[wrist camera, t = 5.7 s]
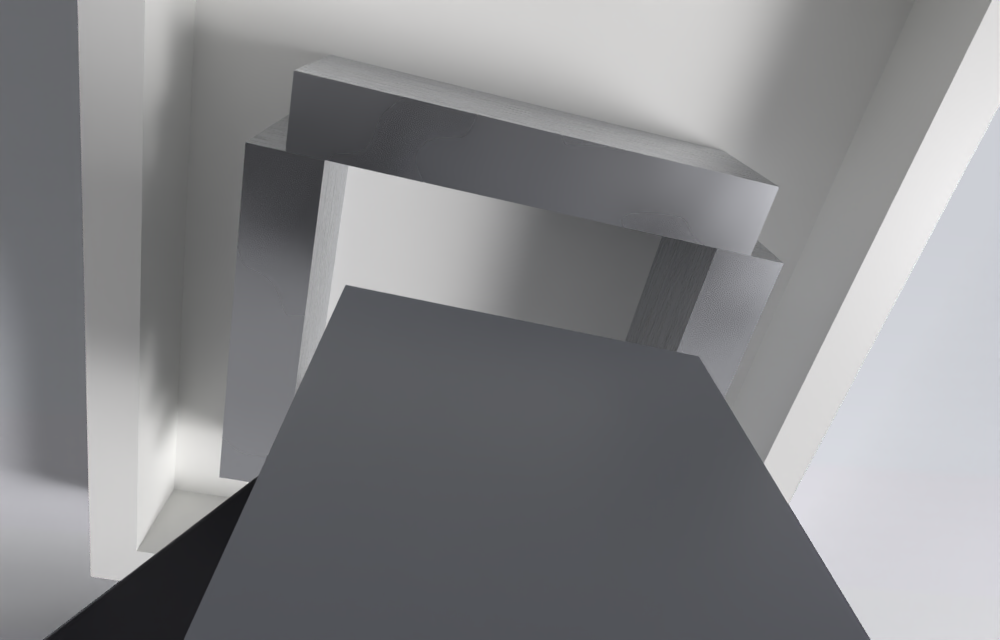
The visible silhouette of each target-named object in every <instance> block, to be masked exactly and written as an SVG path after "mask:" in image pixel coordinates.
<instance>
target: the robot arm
mask: <svg viewBox="0 0 1000 640" xmlns="http://www.w3.org/2000/svg"><path fill="white" fill-rule="evenodd" d="M257 478H258V476H257V477H256V478H254V479H253V480H252V481H250V482H249V483H248V484H246V485H245V486H244V487H242V488H241V489H240V490H239V491H237V492H236V493H235V494H233V495H232V496H231V497H229V498H228V499H227V500H225V501H224V502H223V503H222V504H220V505H219V506H218V507H216V508H215V509H214V510H212V511H211V512H210V513H208V514H207V515H206V516H205V517H203V518H202V519H201V520H199V521H198V522H197V523H195V524H194V525H193V526H191V527H190V528H189V529H187V530H186V531H185V532H184V533H182V534H181V535H180V536H178V537H177V538H176V539H174V540H173V541H172V542H170V543H169V544H168V545H167V546H165V547H164V548H163V549H161V550H160V551H159V552H157V553H156V554H155V555H153V556H152V557H151V558H150V559H148V560H147V561H146V562H144V563H143V564H142V565H140V566H139V567H138V568H136V569H135V570H134V571H133V572H131V573H130V574H129V575H127V576H126V577H125V578H123V579H122V580H121V581H119V582H118V583H117V584H115V585H114V586H113V587H112V588H110V589H109V590H108V591H106V592H105V593H104V594H102V595H101V596H100V597H98V598H97V599H96V600H95V601H93V602H92V603H91V604H89V605H88V606H87V607H85V608H84V609H83V610H81V611H80V612H79V613H78V614H76V615H75V616H74V617H72V618H71V619H70V620H68V621H67V622H66V623H64V624H63V625H62V626H61V627H59V628H58V629H57V630H55V631H54V632H53V633H51V634H50V635H49V636H47V637H46V638H45V639H43V640H184V638H185V636H186V634H187V631H188V629H189V627H190V625H191V623H192V620H193V618H194V616H195V614H196V612H197V609H198V607H199V605H200V603H201V601H202V599H203V596H204V594H205V592H206V590H207V588H208V585H209V583H210V581H211V579H212V577H213V574H214V572H215V570H216V568H217V566H218V563H219V561H220V559H221V557H222V555H223V552H224V550H225V548H226V546H227V544H228V541H229V539H230V537H231V535H232V533H233V531H234V528H235V526H236V524H237V522H238V520H239V517H240V515H241V513H242V511H243V509H244V506H245V504H246V502H247V500H248V498H249V495H250V493H251V491H252V489H253V487H254V484H255V482H256V480H257Z"/></svg>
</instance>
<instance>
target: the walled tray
mask: <svg viewBox="0 0 1000 640" xmlns="http://www.w3.org/2000/svg"><path fill="white" fill-rule="evenodd" d="M77 3H78V47H79V92H80V136H81V180H82V224H83V268H84V312H85V356H86V400H87V444H88V488H89V532H90V576H91V577H96V578H103V579H110V580H117V581H121V580H122V579H123V578H125V577H126V576H127V575H129V574H130V573H131V572H133V571H134V570H135V569H136V568H138V567H139V566H140V565H142V564H143V563H144V562H146V561H147V560H148V559H150V558H151V557H152V556H153V555H155V554H156V553H157V552H159V551H160V550H161V549H163V548H164V547H165V546H167V545H168V544H169V543H170V542H172V541H173V540H174V539H176V538H177V537H178V536H180V535H181V534H182V533H184V532H185V531H186V530H187V529H189V528H190V527H191V526H193V525H194V524H195V523H197V522H198V521H199V520H201V519H202V518H203V517H205V516H206V515H207V514H208V513H210V512H211V511H212V510H214V509H215V508H216V507H218V506H219V505H220V504H222V503H223V502H224V501H225V500H227V499H228V498H229V497H231V496H232V495H233V494H235V493H236V492H237V491H239V490H240V489H241V488H242V487H244V486H245V485H246V484H248V483H249V482H245V481H239V480H233V479H227V478H221V477H219V473H220V461H221V448H222V435H223V422H224V409H225V397H226V384H227V371H228V358H229V346H230V333H231V320H232V307H233V295H234V282H235V269H236V256H237V243H238V231H239V218H240V205H241V192H242V180H243V167H244V154H245V142H247V141H248V140H250V139H251V138H253V137H254V136H256V135H257V134H259V133H261V132H262V131H264V130H265V129H267V128H268V127H270V126H271V125H273V124H274V123H276V122H277V121H279V120H281V119H282V118H284V117H285V116H287V115H288V114H289V112H290V102H291V92H292V83H293V73H294V70H296V69H298V68H301V67H303V66H305V65H308V64H310V63H312V62H314V61H317V60H319V59H321V58H324V57H326V56H328V55H334V56H338V57H342V58H346V59H351V60H355V61H359V62H363V63H367V64H371V65H375V66H379V67H383V68H387V69H392V70H396V71H400V72H404V73H408V74H412V75H416V76H420V77H424V78H428V79H432V80H437V81H441V82H445V83H449V84H453V85H457V86H461V87H465V88H469V89H473V90H477V91H482V92H486V93H490V94H494V95H498V96H502V97H506V98H510V99H514V100H518V101H523V102H527V103H531V104H535V105H539V106H543V107H547V108H551V109H555V110H559V111H563V112H568V113H572V114H576V115H580V116H584V117H588V118H592V119H596V120H600V121H604V122H608V123H613V124H617V125H621V126H625V127H629V128H633V129H637V130H641V131H645V132H649V133H654V134H658V135H662V136H666V137H670V138H674V139H678V140H682V141H686V142H690V143H694V144H699V145H703V146H707V147H711V148H715V149H719V150H723V151H725V152H726V153H728V154H730V155H731V156H733V157H734V158H736V159H737V160H739V161H740V162H742V163H743V164H745V165H746V166H748V167H750V168H751V169H753V170H754V171H756V172H757V173H759V174H760V175H762V176H763V177H765V178H766V179H768V180H770V181H771V182H773V183H774V184H776V185H777V186H779V189H778V191H777V194H776V196H775V199H774V201H773V203H772V206H771V208H770V211H769V213H768V215H767V218H766V220H765V223H764V225H763V227H762V230H761V232H760V235H759V237H758V239H757V240H758V241H759V242H760V243H761V244H763V245H764V246H765V247H766V248H767V249H768V250H769V251H770V252H772V253H773V254H774V255H775V256H776V257H777V258H778V259H779V260H780V261H782V262H783V263H784V264H783V266H782V268H781V271H780V273H779V275H778V277H777V280H776V282H775V284H774V286H773V289H772V291H771V293H770V295H769V298H768V300H767V302H766V305H765V307H764V309H763V311H762V314H761V316H760V318H759V320H758V323H757V325H756V327H755V329H754V332H753V334H752V336H751V339H750V341H749V343H748V345H747V348H746V350H745V352H744V354H743V357H742V359H741V361H740V364H739V366H738V368H737V370H736V373H735V375H734V377H733V379H732V382H731V384H730V386H729V388H728V391H727V393H726V395H725V398H724V399H725V400H726V402H727V404H728V405H729V407H730V409H731V410H732V412H733V414H734V415H735V417H736V419H737V420H738V422H739V424H740V425H741V427H742V429H743V430H744V432H745V433H746V435H747V437H748V438H749V440H750V442H751V443H752V445H753V447H754V448H755V450H756V452H757V453H758V455H759V457H760V458H761V460H762V462H763V463H764V465H765V466H766V468H767V470H768V471H769V473H770V475H771V476H772V478H773V480H774V481H775V483H776V485H777V486H778V488H779V490H780V491H781V493H782V495H783V496H784V498H785V500H786V501H787V503H788V504H789V503H790V501H791V499H792V497H793V495H794V493H795V491H796V489H797V488H798V486H799V484H800V482H801V480H802V478H803V476H804V474H805V472H806V471H807V469H808V467H809V465H810V463H811V461H812V459H813V457H814V455H815V453H816V452H817V450H818V448H819V446H820V444H821V442H822V440H823V438H824V436H825V435H826V433H827V431H828V429H829V427H830V425H831V423H832V421H833V419H834V418H835V416H836V414H837V412H838V410H839V408H840V406H841V404H842V402H843V401H844V399H845V397H846V395H847V393H848V391H849V389H850V387H851V385H852V383H853V382H854V380H855V378H856V376H857V374H858V372H859V370H860V368H861V366H862V365H863V363H864V361H865V359H866V357H867V355H868V353H869V351H870V349H871V348H872V346H873V344H874V342H875V340H876V338H877V336H878V334H879V332H880V331H881V329H882V327H883V325H884V323H885V321H886V319H887V317H888V315H889V313H890V312H891V310H892V308H893V306H894V304H895V302H896V300H897V298H898V296H899V295H900V293H901V291H902V289H903V287H904V285H905V283H906V281H907V279H908V278H909V276H910V274H911V272H912V270H913V268H914V266H915V264H916V262H917V261H918V259H919V257H920V255H921V253H922V251H923V249H924V247H925V245H926V243H927V242H928V240H929V238H930V236H931V234H932V232H933V230H934V228H935V226H936V225H937V223H938V221H939V219H940V217H941V215H942V213H943V211H944V209H945V208H946V206H947V204H948V202H949V200H950V198H951V196H952V194H953V192H954V191H955V189H956V187H957V185H958V183H959V181H960V179H961V177H962V175H963V173H964V172H965V170H966V168H967V166H968V164H969V162H970V160H971V158H972V156H973V155H974V153H975V151H976V149H977V147H978V145H979V143H980V141H981V139H982V138H983V136H984V134H985V132H986V130H987V128H988V126H989V124H990V122H991V121H992V119H993V117H994V115H995V113H996V111H997V109H998V107H999V105H1000V0H77ZM661 238H662V236H660V235H655V234H651V233H646V232H642V231H638V230H633V229H629V228H624V227H620V226H615V225H611V224H606V223H602V222H598V221H593V220H589V219H584V218H580V217H575V216H571V215H566V214H562V213H557V212H553V211H549V210H544V209H540V208H535V207H531V206H526V205H522V204H517V203H513V202H509V201H504V200H500V199H495V198H491V197H486V196H482V195H477V194H473V193H468V192H464V191H460V190H455V189H451V188H446V187H442V186H437V185H433V184H428V183H424V182H420V181H415V180H411V179H406V178H402V177H397V176H393V175H388V174H384V173H380V172H375V171H371V170H366V169H362V168H357V167H353V166H348V173H347V180H346V187H345V194H344V201H343V208H342V215H341V222H340V229H339V236H338V243H337V250H336V257H335V264H334V271H333V278H332V285H331V292H330V299H329V305H328V312H327V319H326V326H327V324H328V322H329V320H330V318H331V316H332V313H333V311H334V309H335V307H336V305H337V302H338V300H339V298H340V296H341V294H342V291H343V289H344V287H345V285H350V286H355V287H359V288H364V289H369V290H374V291H379V292H384V293H389V294H394V295H399V296H404V297H409V298H414V299H419V300H424V301H429V302H433V303H438V304H443V305H448V306H453V307H458V308H463V309H468V310H473V311H478V312H483V313H488V314H493V315H498V316H502V317H507V318H512V319H517V320H522V321H527V322H532V323H537V324H542V325H547V326H552V327H557V328H562V329H567V330H571V331H576V332H581V333H586V334H591V335H596V336H601V337H606V338H611V339H616V340H621V341H625V340H626V337H627V334H628V331H629V328H630V326H631V323H632V320H633V317H634V314H635V311H636V309H637V306H638V303H639V300H640V297H641V295H642V292H643V289H644V286H645V283H646V280H647V278H648V275H649V272H650V269H651V266H652V263H653V261H654V258H655V255H656V252H657V249H658V247H659V244H660V241H661ZM326 326H325V329H326Z"/></svg>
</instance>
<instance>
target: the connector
mask: <svg viewBox="0 0 1000 640" xmlns="http://www.w3.org/2000/svg"><path fill="white" fill-rule="evenodd" d="M184 640H870V638H869V637H868V635H867V633H866V632H865V630H864V628H863V627H862V625H861V623H860V622H859V620H858V618H857V617H856V615H855V613H854V612H853V610H852V609H851V607H850V605H849V604H848V602H847V600H846V599H845V597H844V595H843V594H842V592H841V590H840V589H839V587H838V585H837V584H836V582H835V580H834V579H833V577H832V575H831V574H830V572H829V571H828V569H827V567H826V566H825V564H824V562H823V561H822V559H821V557H820V556H819V554H818V552H817V551H816V549H815V547H814V546H813V544H812V542H811V541H810V539H809V538H808V536H807V534H806V533H805V531H804V529H803V528H802V526H801V524H800V523H799V521H798V519H797V518H796V516H795V514H794V513H793V511H792V509H791V508H790V506H789V504H788V503H787V501H786V500H785V498H784V496H783V495H782V493H781V491H780V490H779V488H778V486H777V485H776V483H775V481H774V480H773V478H772V476H771V475H770V473H769V471H768V470H767V468H766V466H765V465H764V463H763V462H762V460H761V458H760V457H759V455H758V453H757V452H756V450H755V448H754V447H753V445H752V443H751V442H750V440H749V438H748V437H747V435H746V433H745V432H744V430H743V429H742V427H741V425H740V424H739V422H738V420H737V419H736V417H735V415H734V414H733V412H732V410H731V409H730V407H729V405H728V404H727V402H726V400H725V399H724V397H723V395H722V394H721V392H720V391H719V389H718V387H717V386H716V384H715V382H714V381H713V379H712V377H711V376H710V374H709V372H708V371H707V369H706V367H705V366H704V364H703V362H702V361H701V359H700V357H699V356H695V355H690V354H685V353H680V352H675V351H670V350H665V349H660V348H655V347H650V346H645V345H641V344H636V343H631V342H626V341H621V340H616V339H611V338H606V337H601V336H596V335H591V334H586V333H581V332H576V331H571V330H567V329H562V328H557V327H552V326H547V325H542V324H537V323H532V322H527V321H522V320H517V319H512V318H507V317H502V316H498V315H493V314H488V313H483V312H478V311H473V310H468V309H463V308H458V307H453V306H448V305H443V304H438V303H433V302H429V301H424V300H419V299H414V298H409V297H404V296H399V295H394V294H389V293H384V292H379V291H374V290H369V289H364V288H359V287H355V286H350V285H345V287H344V289H343V291H342V294H341V296H340V298H339V300H338V302H337V305H336V307H335V309H334V311H333V313H332V316H331V318H330V320H329V322H328V324H327V326H326V329H325V331H324V333H323V335H322V337H321V340H320V342H319V344H318V346H317V348H316V351H315V353H314V355H313V357H312V359H311V362H310V364H309V366H308V368H307V370H306V373H305V375H304V377H303V379H302V381H301V384H300V386H299V388H298V390H297V392H296V394H295V397H294V399H293V401H292V403H291V405H290V408H289V410H288V412H287V414H286V416H285V419H284V421H283V423H282V425H281V427H280V430H279V432H278V434H277V436H276V438H275V441H274V443H273V445H272V447H271V449H270V452H269V454H268V456H267V458H266V460H265V462H264V465H263V467H262V469H261V471H260V473H259V476H258V478H257V480H256V482H255V484H254V487H253V489H252V491H251V493H250V495H249V498H248V500H247V502H246V504H245V506H244V509H243V511H242V513H241V515H240V517H239V520H238V522H237V524H236V526H235V528H234V531H233V533H232V535H231V537H230V539H229V541H228V544H227V546H226V548H225V550H224V552H223V555H222V557H221V559H220V561H219V563H218V566H217V568H216V570H215V572H214V574H213V577H212V579H211V581H210V583H209V585H208V588H207V590H206V592H205V594H204V596H203V599H202V601H201V603H200V605H199V607H198V609H197V612H196V614H195V616H194V618H193V620H192V623H191V625H190V627H189V629H188V631H187V634H186V636H185V638H184Z"/></svg>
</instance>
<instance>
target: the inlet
mask: <svg viewBox="0 0 1000 640" xmlns="http://www.w3.org/2000/svg"><path fill="white" fill-rule="evenodd" d="M348 166H353V167H357V168H362V169H366V170H371V171H375V172H380V173H384V174H388V175H393V176H397V177H402V178H406V179H411V180H415V181H420V182H424V183H428V184H433V185H437V186H442V187H446V188H451V189H455V190H460V191H464V192H468V193H473V194H477V195H482V196H486V197H491V198H495V199H500V200H504V201H509V202H513V203H517V204H522V205H526V206H531V207H535V208H540V209H544V210H549V211H553V212H557V213H562V214H566V215H571V216H575V217H580V218H584V219H589V220H593V221H598V222H602V223H606V224H611V225H615V226H620V227H624V228H629V229H633V230H638V231H642V232H646V233H651V234H655V235H660V236H662V238H661V241H660V244H659V247H658V249H657V252H656V255H655V258H654V261H653V263H652V266H651V269H650V272H649V275H648V278H647V280H646V283H645V286H644V289H643V292H642V295H641V297H640V300H639V303H638V306H637V309H636V311H635V314H634V317H633V320H632V323H631V326H630V328H629V331H628V334H627V337H626V340H625V341H626V342H631V343H636V344H641V345H645V346H650V347H655V348H660V349H665V350H670V351H675V352H680V353H685V354H690V355H695V356H699V357H700V359H701V361H702V362H703V364H704V366H705V367H706V369H707V371H708V372H709V374H710V376H711V377H712V379H713V381H714V382H715V384H716V386H717V387H718V389H719V391H720V392H721V394H722V395H723V397H724V398H725V395H726V393H727V391H728V388H729V386H730V384H731V382H732V379H733V377H734V375H735V373H736V370H737V368H738V366H739V364H740V361H741V359H742V357H743V354H744V352H745V350H746V348H747V345H748V343H749V341H750V339H751V336H752V334H753V332H754V329H755V327H756V325H757V323H758V320H759V318H760V316H761V314H762V311H763V309H764V307H765V305H766V302H767V300H768V298H769V295H770V293H771V291H772V289H773V286H774V284H775V282H776V280H777V277H778V275H779V273H780V271H781V268H782V266H783V264H784V263H783V262H782V261H780V260H779V259H778V258H777V257H776V256H775V255H774V254H773V253H772V252H770V251H769V250H768V249H767V248H766V247H765V246H764V245H763V244H761V243H760V242H759V241H758V240H757V239H758V237H759V235H760V232H761V230H762V227H763V225H764V223H765V220H766V218H767V215H768V213H769V211H770V208H771V206H772V203H773V201H774V199H775V196H776V194H777V191H778V189H779V186H777V185H776V184H774V183H773V182H771V181H770V180H768V179H766V178H765V177H763V176H762V175H760V174H759V173H757V172H756V171H754V170H753V169H751V168H750V167H748V166H746V165H745V164H743V163H742V162H740V161H739V160H737V159H736V158H734V157H733V156H731V155H730V154H728V153H726V152H725V151H723V150H719V149H715V148H711V147H707V146H703V145H699V144H694V143H690V142H686V141H682V140H678V139H674V138H670V137H666V136H662V135H658V134H654V133H649V132H645V131H641V130H637V129H633V128H629V127H625V126H621V125H617V124H613V123H608V122H604V121H600V120H596V119H592V118H588V117H584V116H580V115H576V114H572V113H568V112H563V111H559V110H555V109H551V108H547V107H543V106H539V105H535V104H531V103H527V102H523V101H518V100H514V99H510V98H506V97H502V96H498V95H494V94H490V93H486V92H482V91H477V90H473V89H469V88H465V87H461V86H457V85H453V84H449V83H445V82H441V81H437V80H432V79H428V78H424V77H420V76H416V75H412V74H408V73H404V72H400V71H396V70H392V69H387V68H383V67H379V66H375V65H371V64H367V63H363V62H359V61H355V60H351V59H346V58H342V57H338V56H334V55H328V56H326V57H324V58H321V59H319V60H317V61H314V62H312V63H310V64H308V65H305V66H303V67H301V68H298V69H296V70H294V73H293V83H292V92H291V102H290V112H289V114H288V115H287V116H285V117H284V118H282V119H281V120H279V121H277V122H276V123H274V124H273V125H271V126H270V127H268V128H267V129H265V130H264V131H262V132H261V133H259V134H257V135H256V136H254V137H253V138H251V139H250V140H248V141H247V142H245V154H244V167H243V180H242V192H241V205H240V218H239V231H238V243H237V256H236V269H235V282H234V295H233V307H232V320H231V333H230V346H229V358H228V371H227V384H226V397H225V409H224V422H223V435H222V448H221V461H220V473H219V477H221V478H227V479H233V480H239V481H245V482H250V481H252V480H253V479H254V478H256V477H257V476H259V473H260V471H261V469H262V467H263V465H264V462H265V460H266V458H267V456H268V454H269V452H270V449H271V447H272V445H273V443H274V441H275V438H276V436H277V434H278V432H279V430H280V427H281V425H282V423H283V421H284V419H285V416H286V414H287V412H288V410H289V408H290V405H291V403H292V401H293V399H294V397H295V394H296V392H297V390H298V388H299V386H300V384H301V381H302V379H303V377H304V375H305V373H306V370H307V368H308V366H309V364H310V362H311V359H312V357H313V355H314V353H315V351H316V348H317V346H318V344H319V342H320V340H321V337H322V335H323V333H324V331H325V326H326V319H327V312H328V305H329V299H330V292H331V285H332V278H333V271H334V264H335V257H336V250H337V243H338V236H339V229H340V222H341V215H342V208H343V201H344V194H345V187H346V180H347V173H348Z"/></svg>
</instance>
